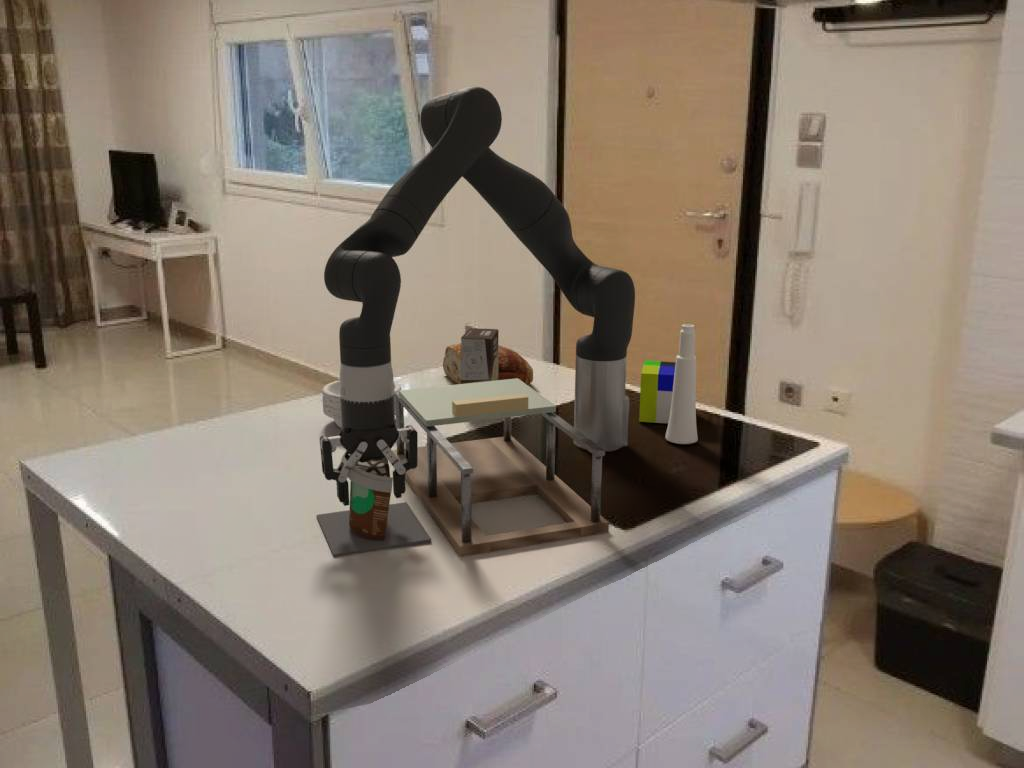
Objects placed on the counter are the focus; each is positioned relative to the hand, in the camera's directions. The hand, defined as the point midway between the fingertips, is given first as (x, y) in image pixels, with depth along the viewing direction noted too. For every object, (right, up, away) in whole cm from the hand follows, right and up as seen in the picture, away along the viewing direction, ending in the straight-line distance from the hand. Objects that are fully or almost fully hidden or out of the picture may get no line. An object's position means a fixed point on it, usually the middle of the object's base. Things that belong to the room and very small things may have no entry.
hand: (371, 499), depth 137 cm
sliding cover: (+14, +14, +18) cm, 27 cm away
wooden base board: (+17, -1, +16) cm, 23 cm away
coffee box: (+14, +12, +58) cm, 61 cm away
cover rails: (+17, +1, +15) cm, 23 cm away
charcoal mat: (0, -5, +1) cm, 5 cm away
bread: (+16, +17, +76) cm, 79 cm away
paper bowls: (-9, +9, +48) cm, 49 cm away
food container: (-1, -4, +1) cm, 4 cm away
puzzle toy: (+52, +10, +54) cm, 76 cm away
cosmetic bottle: (+53, +6, +40) cm, 67 cm away
